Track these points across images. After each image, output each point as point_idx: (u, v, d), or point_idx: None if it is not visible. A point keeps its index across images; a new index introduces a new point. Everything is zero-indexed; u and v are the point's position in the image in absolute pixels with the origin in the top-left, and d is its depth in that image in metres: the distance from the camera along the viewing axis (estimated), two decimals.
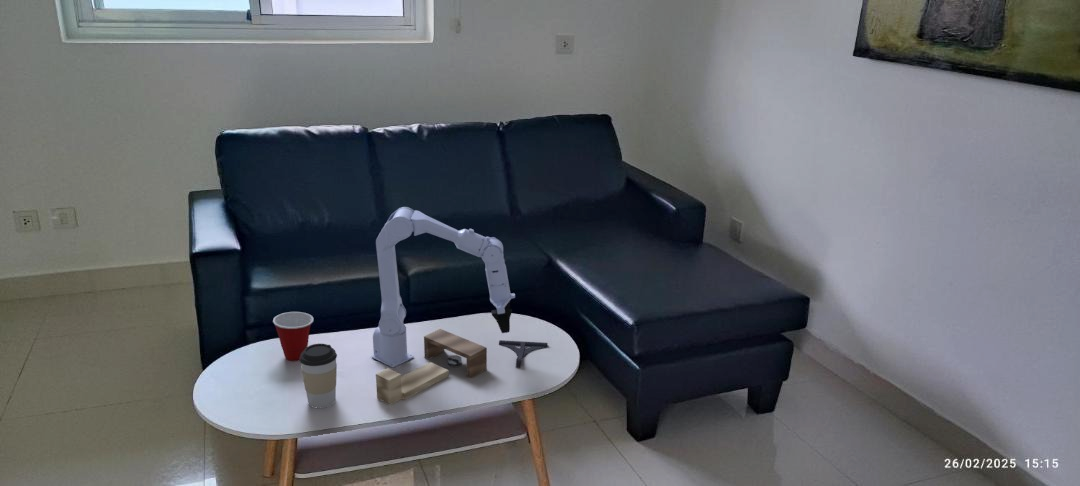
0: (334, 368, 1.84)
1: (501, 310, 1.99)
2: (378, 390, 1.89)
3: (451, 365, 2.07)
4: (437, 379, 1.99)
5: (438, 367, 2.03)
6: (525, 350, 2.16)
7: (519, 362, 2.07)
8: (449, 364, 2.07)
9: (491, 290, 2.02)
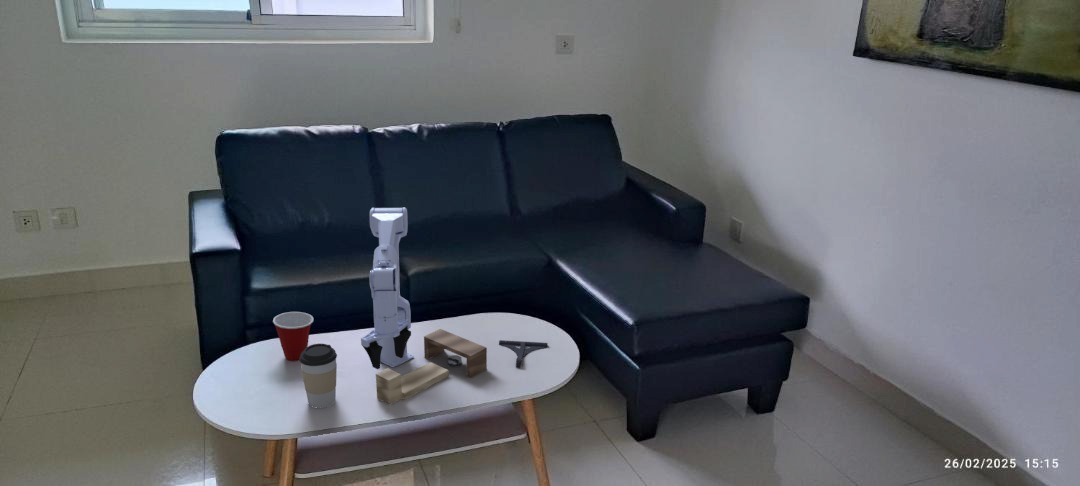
0: (334, 368, 1.84)
1: (364, 343, 1.79)
2: (378, 390, 1.89)
3: (451, 365, 2.07)
4: (437, 379, 1.99)
5: (438, 367, 2.03)
6: (525, 350, 2.16)
7: (519, 362, 2.07)
8: (449, 364, 2.07)
9: None
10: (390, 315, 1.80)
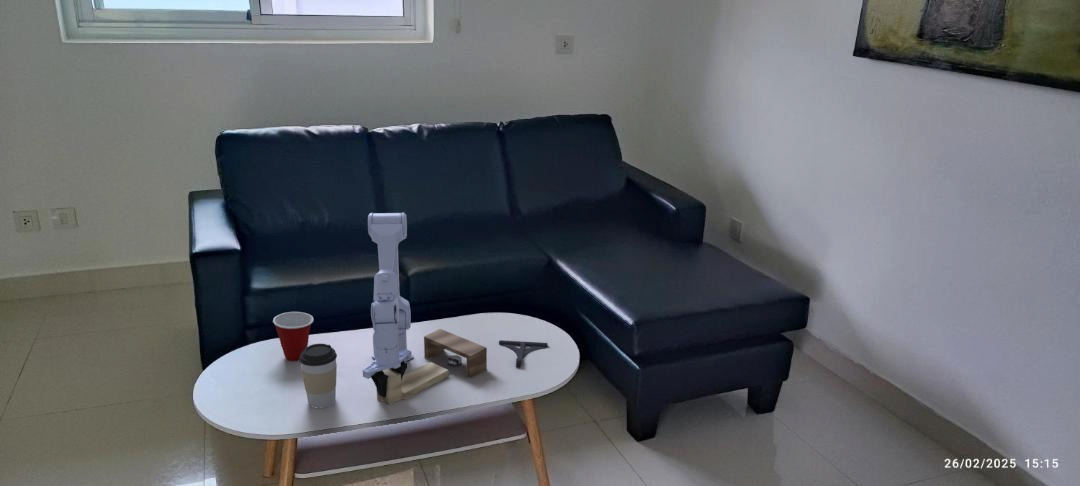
0: (334, 368, 1.84)
1: (365, 374, 1.82)
2: None
3: (451, 365, 2.07)
4: (437, 379, 1.99)
5: (438, 366, 2.03)
6: (525, 350, 2.16)
7: (519, 362, 2.07)
8: (449, 364, 2.07)
9: (375, 349, 1.86)
10: (391, 347, 1.83)
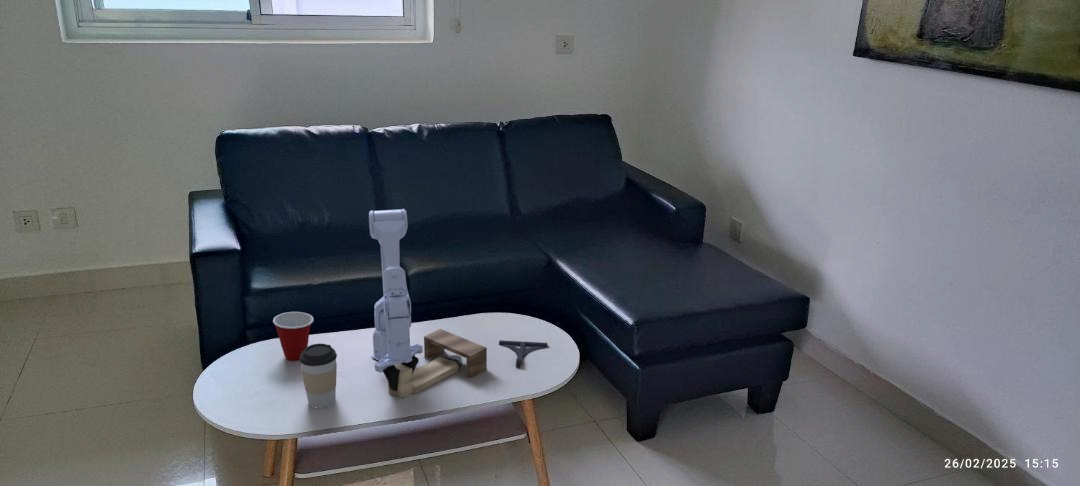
0: (334, 368, 1.84)
1: (377, 368, 1.85)
2: None
3: None
4: (447, 373, 2.02)
5: (448, 361, 2.06)
6: (525, 350, 2.16)
7: (519, 362, 2.07)
8: None
9: (387, 344, 1.89)
10: (404, 341, 1.86)
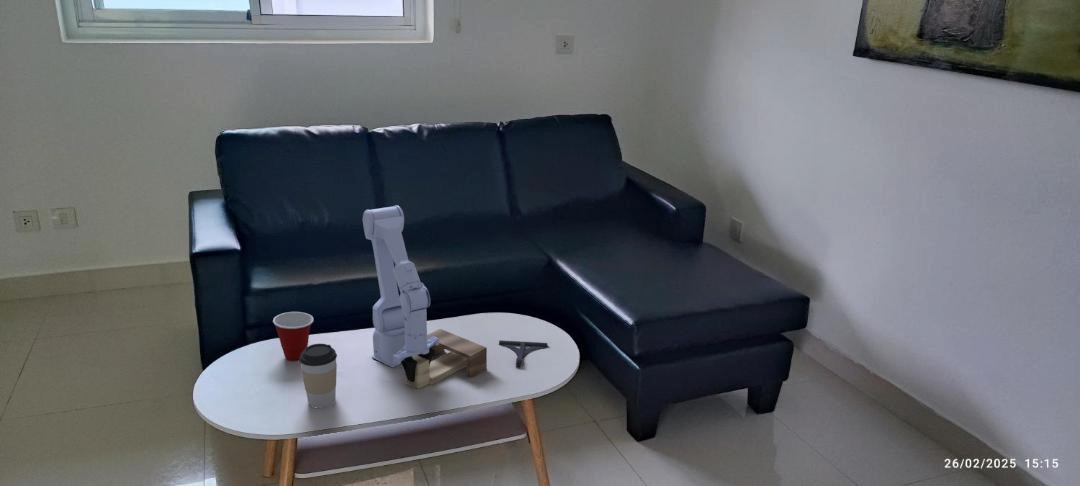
0: (334, 368, 1.84)
1: (396, 360, 1.89)
2: None
3: None
4: (462, 365, 2.06)
5: None
6: (525, 350, 2.16)
7: (519, 362, 2.07)
8: None
9: (405, 336, 1.93)
10: (424, 332, 1.92)
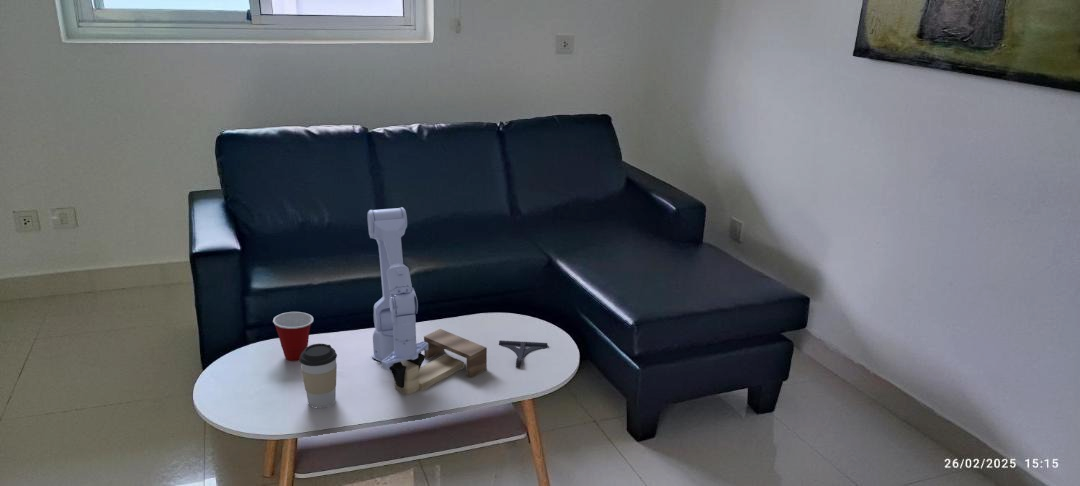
0: (334, 368, 1.84)
1: (384, 365, 1.86)
2: None
3: None
4: (453, 370, 2.03)
5: (454, 358, 2.08)
6: (525, 350, 2.16)
7: (519, 362, 2.07)
8: None
9: None
10: (412, 338, 1.88)
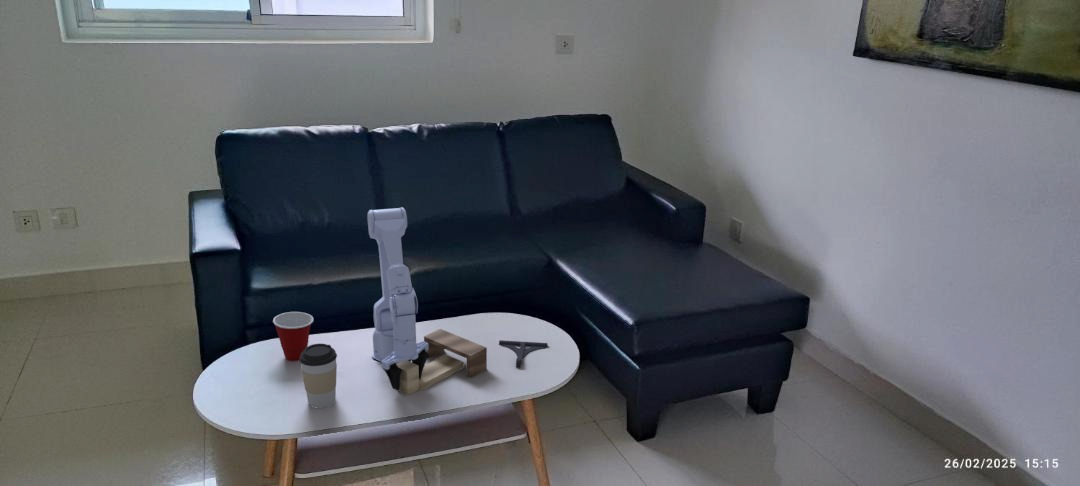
0: (334, 368, 1.84)
1: (384, 365, 1.86)
2: None
3: None
4: (453, 371, 2.03)
5: (454, 359, 2.08)
6: (525, 350, 2.16)
7: (519, 362, 2.07)
8: None
9: None
10: (412, 338, 1.88)
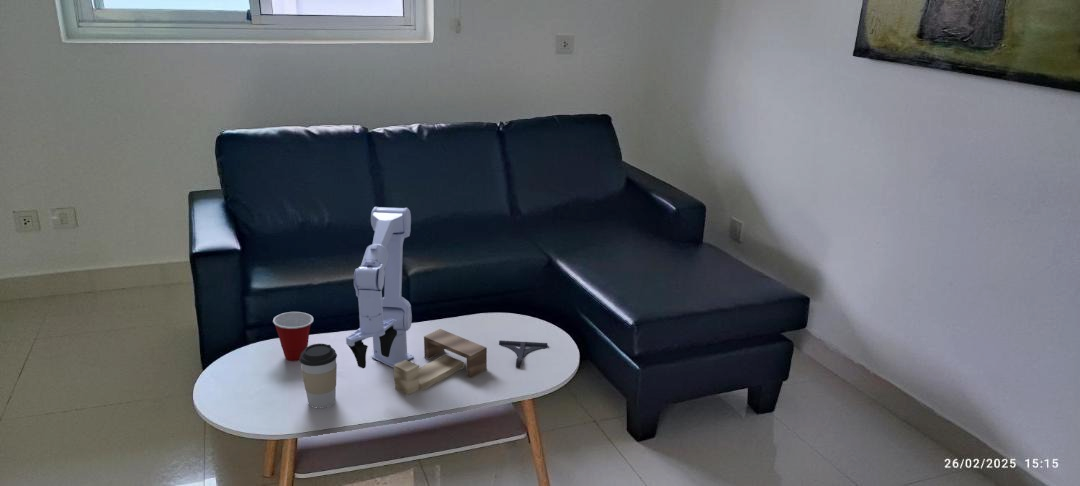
0: (334, 368, 1.84)
1: (349, 342, 1.79)
2: (396, 381, 1.94)
3: None
4: (453, 371, 2.03)
5: (454, 359, 2.08)
6: (525, 350, 2.16)
7: (519, 362, 2.07)
8: None
9: (359, 317, 1.83)
10: (373, 315, 1.80)
